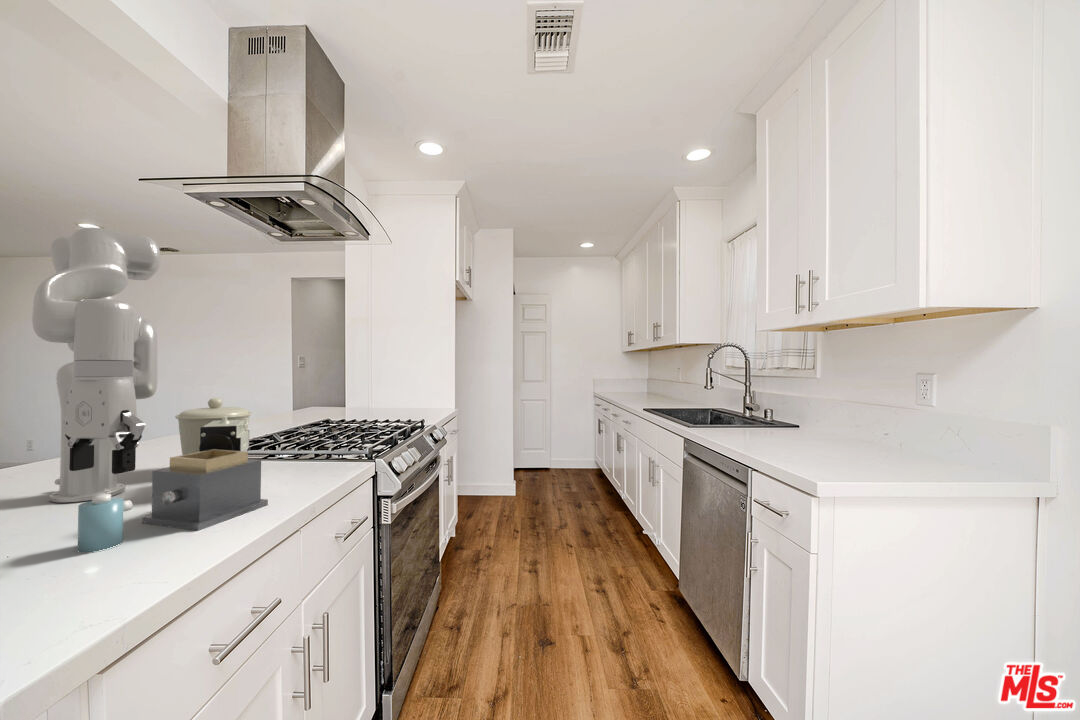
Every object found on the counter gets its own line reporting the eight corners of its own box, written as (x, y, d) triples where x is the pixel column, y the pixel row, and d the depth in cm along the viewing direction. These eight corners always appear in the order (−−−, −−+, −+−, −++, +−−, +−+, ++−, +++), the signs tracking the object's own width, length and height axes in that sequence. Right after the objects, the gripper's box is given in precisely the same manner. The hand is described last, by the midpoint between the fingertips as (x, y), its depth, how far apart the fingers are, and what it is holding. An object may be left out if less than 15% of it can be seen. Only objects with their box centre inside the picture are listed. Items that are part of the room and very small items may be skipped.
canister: (156, 476, 123) (158, 399, 123) (213, 462, 141) (214, 395, 141) (215, 480, 121) (216, 401, 121) (265, 465, 139) (266, 396, 139)
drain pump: (68, 550, 76) (69, 499, 76) (116, 535, 83) (117, 487, 83) (93, 554, 75) (94, 502, 75) (139, 538, 81) (140, 490, 81)
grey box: (138, 524, 88) (140, 460, 88) (218, 499, 104) (219, 445, 104) (194, 531, 85) (196, 465, 85) (267, 504, 101) (268, 449, 101)
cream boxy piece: (239, 492, 110) (240, 419, 110) (196, 496, 106) (198, 421, 106) (251, 475, 126) (252, 412, 126) (214, 478, 123) (215, 413, 123)
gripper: (40, 371, 76) (38, 473, 76) (116, 371, 72) (114, 478, 72) (93, 371, 84) (92, 464, 83) (165, 371, 80) (163, 468, 79)
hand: (102, 470), depth 78 cm, fingers open, 9 cm apart
